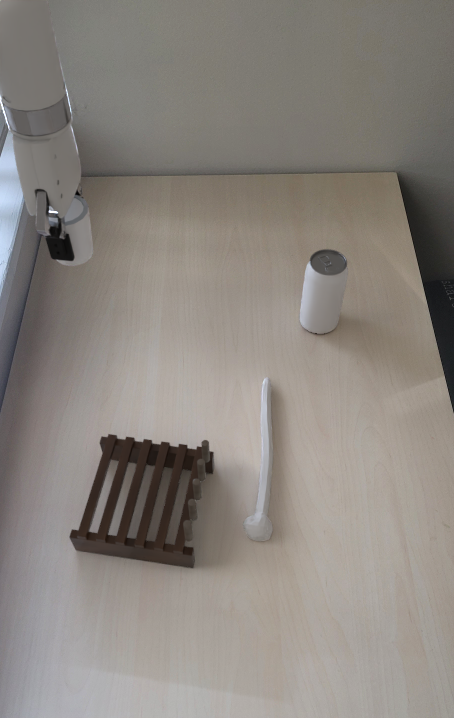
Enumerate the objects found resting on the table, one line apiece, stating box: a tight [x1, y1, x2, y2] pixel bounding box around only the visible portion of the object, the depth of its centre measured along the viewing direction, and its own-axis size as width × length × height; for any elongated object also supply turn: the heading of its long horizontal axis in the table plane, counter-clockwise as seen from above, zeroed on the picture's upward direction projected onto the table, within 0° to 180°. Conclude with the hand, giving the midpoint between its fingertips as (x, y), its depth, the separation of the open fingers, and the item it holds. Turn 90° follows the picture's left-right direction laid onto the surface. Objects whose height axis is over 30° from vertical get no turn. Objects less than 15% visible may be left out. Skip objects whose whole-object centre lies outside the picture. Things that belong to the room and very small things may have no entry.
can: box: [298, 248, 349, 335], centre depth 100 cm, size 6×6×12 cm
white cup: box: [49, 195, 94, 267], centre depth 88 cm, size 7×7×7 cm
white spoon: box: [242, 376, 274, 542], centre depth 91 cm, size 28×4×3 cm, turn 178°
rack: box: [68, 433, 215, 569], centre depth 85 cm, size 16×16×9 cm
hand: (70, 239), depth 89 cm, fingers closed on white cup, 6 cm apart
